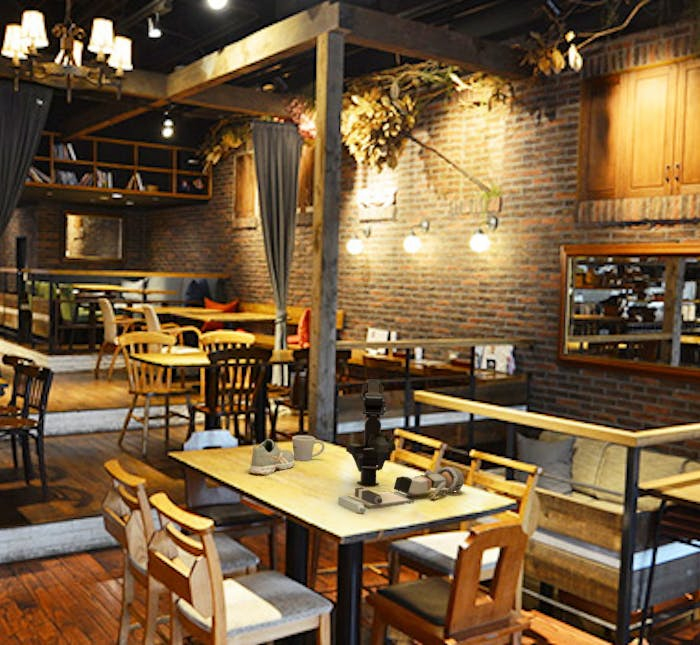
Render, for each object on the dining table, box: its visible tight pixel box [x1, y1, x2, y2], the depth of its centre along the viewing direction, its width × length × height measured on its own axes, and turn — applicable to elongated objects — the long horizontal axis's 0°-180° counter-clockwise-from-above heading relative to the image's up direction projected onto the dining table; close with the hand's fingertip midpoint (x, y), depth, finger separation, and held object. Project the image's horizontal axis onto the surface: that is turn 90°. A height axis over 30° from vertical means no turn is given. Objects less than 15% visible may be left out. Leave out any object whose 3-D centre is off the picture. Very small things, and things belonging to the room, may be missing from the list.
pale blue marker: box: [337, 495, 366, 514], centre depth 289 cm, size 14×3×3 cm, turn 33°
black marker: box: [354, 487, 382, 504], centre depth 297 cm, size 14×3×3 cm, turn 33°
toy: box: [393, 466, 465, 500], centre depth 313 cm, size 14×11×30 cm
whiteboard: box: [348, 490, 415, 510], centre depth 302 cm, size 20×15×2 cm
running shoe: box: [248, 438, 295, 476], centre depth 344 cm, size 11×30×14 cm, turn 158°
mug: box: [291, 434, 325, 462], centre depth 366 cm, size 10×15×10 cm
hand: (370, 470), depth 299 cm, fingers open, 9 cm apart
